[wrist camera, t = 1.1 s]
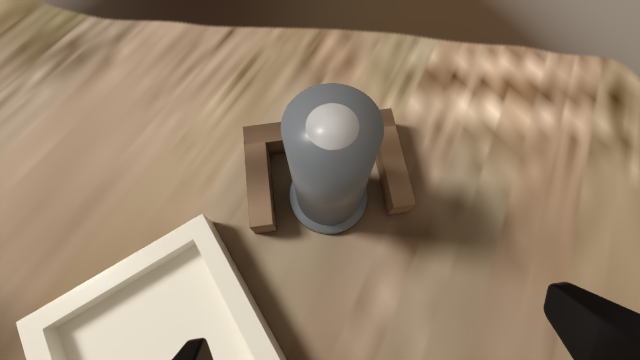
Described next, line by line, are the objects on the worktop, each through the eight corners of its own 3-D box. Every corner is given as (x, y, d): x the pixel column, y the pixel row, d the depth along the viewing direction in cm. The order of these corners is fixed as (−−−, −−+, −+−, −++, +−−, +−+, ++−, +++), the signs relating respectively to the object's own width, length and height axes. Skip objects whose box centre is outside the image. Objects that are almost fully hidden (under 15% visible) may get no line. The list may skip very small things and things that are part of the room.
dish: (300, 384, 19) (298, 393, 18) (107, 527, 17) (81, 555, 15) (212, 221, 23) (202, 213, 21) (43, 320, 21) (15, 322, 19)
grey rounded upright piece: (382, 207, 23) (421, 141, 14) (317, 249, 22) (313, 209, 13) (338, 148, 25) (348, 56, 16) (276, 186, 24) (247, 110, 15)
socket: (408, 212, 23) (415, 204, 21) (255, 233, 23) (249, 227, 21) (386, 122, 26) (391, 108, 24) (248, 139, 25) (243, 126, 24)
